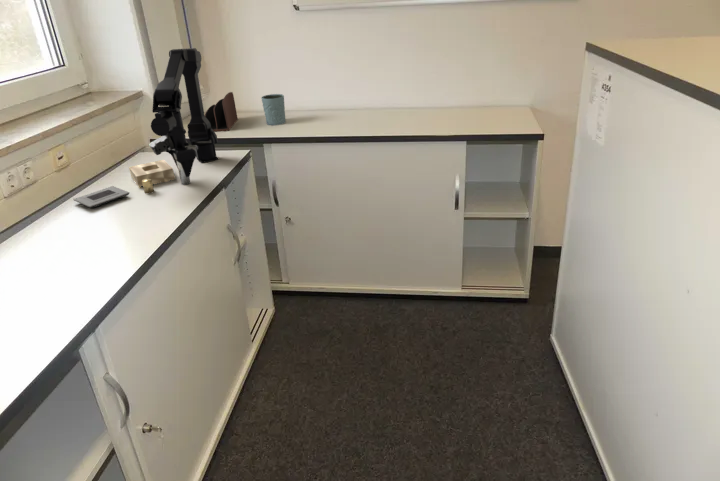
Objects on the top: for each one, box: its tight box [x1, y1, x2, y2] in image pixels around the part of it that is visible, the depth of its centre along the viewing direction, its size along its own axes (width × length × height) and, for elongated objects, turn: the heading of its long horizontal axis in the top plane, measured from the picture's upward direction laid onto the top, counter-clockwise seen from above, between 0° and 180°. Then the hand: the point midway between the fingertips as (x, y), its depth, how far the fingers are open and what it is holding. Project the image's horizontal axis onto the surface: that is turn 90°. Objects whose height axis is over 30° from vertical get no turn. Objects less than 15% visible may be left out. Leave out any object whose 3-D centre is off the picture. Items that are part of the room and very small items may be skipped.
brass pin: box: [142, 179, 155, 194], centre depth 175 cm, size 3×3×4 cm
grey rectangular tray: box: [73, 185, 130, 209], centre depth 171 cm, size 13×10×2 cm
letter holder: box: [204, 91, 239, 133], centre depth 243 cm, size 10×20×14 cm, turn 0°
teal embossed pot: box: [260, 93, 286, 126], centre depth 243 cm, size 10×10×12 cm
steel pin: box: [176, 162, 192, 186], centre depth 179 cm, size 3×3×10 cm
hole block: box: [128, 159, 176, 188], centre depth 186 cm, size 12×12×4 cm
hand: (183, 173), depth 180 cm, fingers open, 9 cm apart
